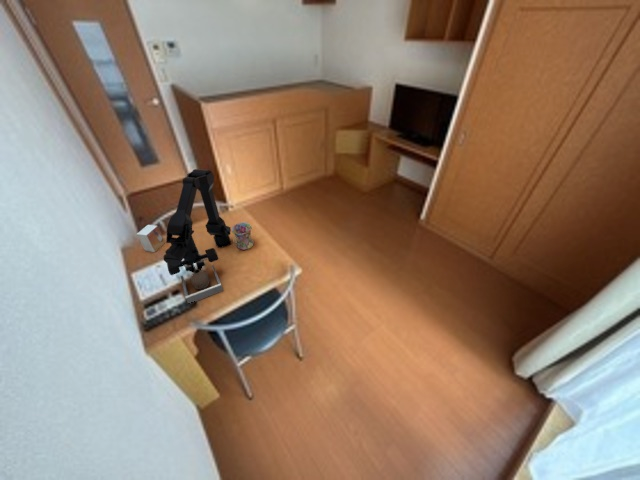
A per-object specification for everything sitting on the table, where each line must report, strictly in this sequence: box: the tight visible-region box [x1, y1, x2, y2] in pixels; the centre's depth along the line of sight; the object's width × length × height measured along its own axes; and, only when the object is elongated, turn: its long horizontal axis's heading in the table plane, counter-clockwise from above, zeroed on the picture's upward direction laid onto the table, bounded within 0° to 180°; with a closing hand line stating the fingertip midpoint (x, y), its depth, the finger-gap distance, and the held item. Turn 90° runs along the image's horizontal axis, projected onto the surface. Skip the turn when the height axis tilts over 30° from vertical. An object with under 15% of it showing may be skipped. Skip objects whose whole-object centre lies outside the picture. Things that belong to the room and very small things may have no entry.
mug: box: [231, 222, 255, 251], centre depth 129 cm, size 12×9×11 cm
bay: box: [180, 264, 224, 304], centre depth 111 cm, size 14×14×4 cm
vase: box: [190, 268, 210, 290], centre depth 110 cm, size 7×7×9 cm
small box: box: [136, 224, 166, 253], centre depth 129 cm, size 8×6×10 cm
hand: (198, 274), depth 115 cm, fingers closed, pressing on vase
